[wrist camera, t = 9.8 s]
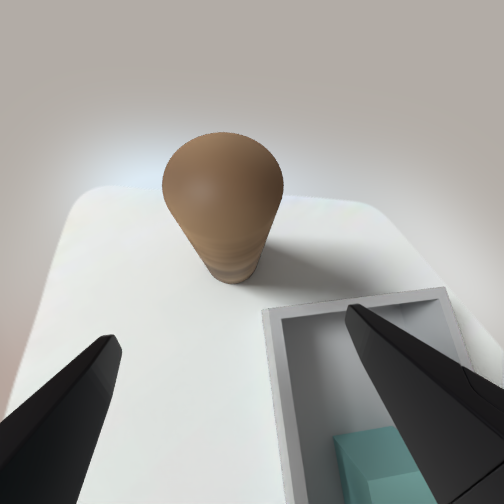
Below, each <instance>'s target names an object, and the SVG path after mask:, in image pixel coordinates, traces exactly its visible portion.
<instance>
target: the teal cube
mask: <svg viewBox="0 0 504 504" xmlns="http://www.w3.org/2000/svg"><path fill="white" fill-rule="evenodd" d="M333 441H334V446H335V452H336V457H337V463H338V469H339V474H340V480H341V485H342V491H343V496H344V502H345V504H437V502H436V500H435V498H434V496H433V494H432V493H431V491H430V489H429V487H428V485H427V483H426V482H425V480H424V478H423V476H422V474H421V472H420V470H419V469H418V467H417V465H416V463H415V461H414V459H413V457H412V456H411V454H410V452H409V450H408V448H407V446H406V444H405V443H404V441H403V439H402V437H401V435H400V433H399V431H398V430H397V429H396V428H394V427H393V426H388V427H382V428H376V429H370V430H364V431H359V432H353V433H347V434H341V435H335V436H333Z"/></svg>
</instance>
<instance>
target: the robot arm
mask: <svg viewBox="0 0 504 504" xmlns="http://www.w3.org/2000/svg"><path fill="white" fill-rule="evenodd" d="M345 325H346V327H347V330H348V332H349V335H350V337H351V339H352V342H353V344H354V347H355V349H356V351H357V354H358V356H359V358H360V361H361V363H362V365H363V366H364V368H365V370H366V372H367V374H368V376H369V378H370V379H371V381H372V383H373V385H374V387H375V389H376V391H377V392H378V394H379V396H380V398H381V400H382V402H383V404H384V405H385V407H386V409H387V411H388V413H389V415H390V417H391V418H392V420H393V422H394V424H395V426H396V428H397V430H398V431H399V433H400V435H401V437H402V439H403V441H404V443H405V444H406V446H407V448H408V450H409V452H410V454H411V456H412V457H413V459H414V461H415V463H416V465H417V467H418V469H419V470H420V472H421V474H422V476H423V478H424V480H425V482H426V483H427V485H428V487H429V489H430V491H431V493H432V494H433V496H434V498H435V500H436V502H437V504H504V389H502V388H500V387H499V386H497V385H495V384H493V383H492V382H490V381H488V380H487V379H485V378H483V377H481V376H480V375H478V374H476V373H475V372H473V371H471V370H470V369H468V368H466V367H465V366H461V364H459V363H458V362H456V361H454V360H453V359H451V358H449V357H448V356H446V355H444V354H443V353H441V352H439V351H438V350H436V349H434V348H433V347H431V346H429V345H428V344H426V343H424V342H423V341H421V340H419V339H418V338H416V337H414V336H413V335H411V334H409V333H408V332H406V331H404V330H403V329H401V328H399V327H398V326H396V325H394V324H393V323H391V322H389V321H388V320H386V319H384V318H383V317H381V316H379V315H378V314H376V313H374V312H373V311H371V310H369V309H368V308H366V307H364V306H363V305H361V304H358V303H356V304H349V305H348V307H347V311H346V315H345ZM121 357H122V349H121V346H120V344H119V342H118V340H117V339H116V337H115V335H112V334H111V335H103V336H101V337H99V338H98V339H97V340H96V341H94V342H93V343H92V344H91V345H90V346H89V347H87V348H86V349H85V350H84V351H83V352H82V353H80V354H79V355H78V356H77V357H76V358H75V359H74V360H72V361H71V362H70V363H69V364H68V365H67V366H65V367H64V368H63V369H62V370H61V371H60V372H58V373H57V374H56V375H55V376H54V377H53V378H52V379H50V380H49V381H48V382H47V383H46V384H45V385H43V386H42V387H41V388H40V389H39V390H38V391H36V392H35V393H34V394H33V395H32V396H31V397H30V398H28V399H27V400H26V401H25V402H24V403H23V404H21V405H20V406H19V407H18V408H17V409H16V410H14V411H13V412H12V413H11V414H10V415H9V416H8V417H6V418H5V419H4V420H3V421H2V422H1V423H0V504H76V503H77V500H78V497H79V494H80V491H81V488H82V485H83V482H84V479H85V476H86V473H87V470H88V467H89V464H90V461H91V458H92V456H93V453H94V450H95V447H96V444H97V441H98V438H99V435H100V432H101V429H102V426H103V423H104V420H105V417H106V414H107V411H108V408H109V405H110V402H111V399H112V395H113V391H114V387H115V383H116V378H117V374H118V370H119V365H120V361H121Z"/></svg>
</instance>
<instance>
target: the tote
mask: <svg viewBox="0 0 504 504" xmlns="http://www.w3.org/2000/svg"><path fill="white" fill-rule="evenodd" d="M356 303H358V304H361V305H363V306H364V307H366V308H368V309H369V310H371V311H373V312H374V313H376V314H378V315H379V316H381V317H383V318H384V319H386V320H388V321H389V322H391V323H393V324H394V325H396V326H398V327H399V328H401V329H403V330H404V331H406V332H408V333H409V334H411V335H413V336H414V337H416V338H418V339H419V340H421V341H423V342H424V343H426V344H428V345H429V346H431V347H433V348H434V349H436V350H438V351H439V352H441V353H443V354H444V355H446V356H448V357H449V358H451V359H453V360H454V361H456V362H458V363H459V364H461V366H465V367H466V368H468V369H470V370H471V371H473V372H475V371H474V368H473V365H472V363H471V360H470V357H469V354H468V351H467V348H466V345H465V342H464V340H463V337H462V334H461V331H460V328H459V325H458V322H457V320H456V317H455V314H454V311H453V308H452V305H451V302H450V299H449V297H448V294H447V291H446V288H445V287H437V288H429V289H421V290H413V291H405V292H397V293H389V294H381V295H373V296H365V297H357V298H349V299H341V300H333V301H325V302H316V303H308V304H300V305H292V306H284V307H276V308H268V309H264V310H261V311H262V319H263V326H264V334H265V342H266V350H267V358H268V365H269V373H270V381H271V389H272V397H273V405H274V412H275V420H276V428H277V436H278V444H279V451H280V459H281V467H282V475H283V483H284V490H285V498H286V504H345V502H344V496H343V491H342V485H341V480H340V474H339V469H338V463H337V457H336V452H335V446H334V441H333V436H335V435H341V434H347V433H353V432H359V431H364V430H370V429H376V428H382V427H388V426H393V427H394V428H396V426H395V424H394V422H393V420H392V418H391V417H390V415H389V413H388V411H387V409H386V407H385V405H384V404H383V402H382V400H381V398H380V396H379V394H378V392H377V391H376V389H375V387H374V385H373V383H372V381H371V379H370V378H369V376H368V374H367V372H366V370H365V368H364V366H363V365H362V363H361V361H360V358H359V356H358V354H357V351H356V349H355V347H354V344H353V342H352V339H351V337H350V335H349V332H348V330H347V327H346V325H345V315H346V311H347V307H348V305H349V304H356ZM396 429H397V428H396Z"/></svg>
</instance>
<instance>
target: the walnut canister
mask: <svg viewBox="0 0 504 504" xmlns="http://www.w3.org/2000/svg"><path fill="white" fill-rule="evenodd" d="M283 186H284V185H283V176H282V172H281V169H280V167H279V164H278V163H277V161H276V159H275V158H274V157H273V155H272V154H271V153H270V152H269V151H268V150H267V149H266V148H265V147H264V146H263V145H261V144H260V143H258V142H257V141H255V140H253V139H251V138H249V137H246V136H243V135H239V134H235V133H227V132H226V133H225V132H219V133H211V134H206V135H203V136H199V137H197V138H195V139H192V140H191V141H189V142H187V143H186V144H184V145H183V146H182V147H181V148H179V149H178V150H177V151H176V152H175V153H174V155H173V156H172V157H171V158H170V160H169V162H168V164H167V166H166V168H165V171H164V175H163V181H162V190H163V196H164V200H165V202H166V205H167V207H168V209H169V210H170V212H171V214H172V215H173V217H174V218H175V220H176V221H177V223H178V224H179V226H180V227H181V229H182V230H183V232H184V233H185V235H186V236H187V238H188V240H189V241H190V243H191V244H192V246H193V247H194V249H195V250H196V252H197V253H198V255H199V256H200V258H201V259H202V261H203V262H204V264H205V265H206V267H207V268H208V270H209V271H210V273H211V274H212V275H213V276H214V277H215V278H216V279H217V280H219V281H221V282H224V283H228V284H235V283H240V282H242V281H245V280H246V279H248V278H249V277H250V276H251V275H252V274H253V272H254V271H255V269H256V266H257V263H258V261H259V258H260V255H261V253H262V250H263V247H264V245H265V242H266V239H267V237H268V234H269V231H270V229H271V226H272V223H273V221H274V218H275V216H276V213H277V210H278V208H279V205H280V202H281V199H282V195H283Z"/></svg>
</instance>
